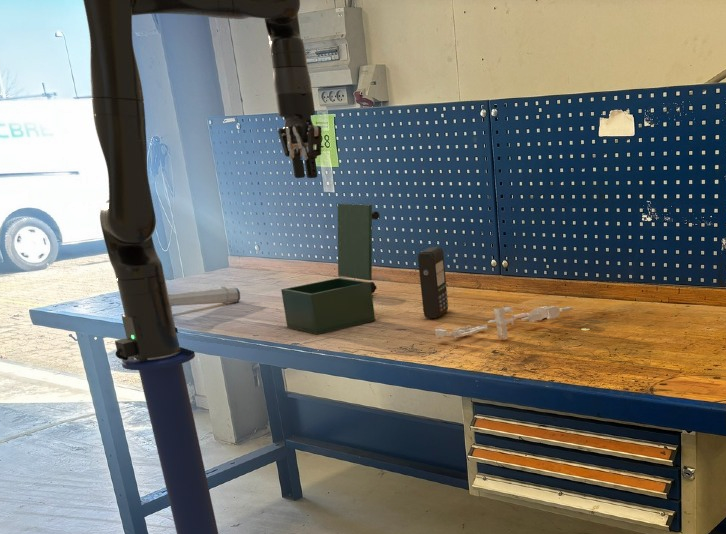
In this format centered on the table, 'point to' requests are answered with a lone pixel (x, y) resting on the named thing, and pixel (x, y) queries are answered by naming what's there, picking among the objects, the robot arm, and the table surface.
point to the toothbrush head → (205, 297)
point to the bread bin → (328, 305)
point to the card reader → (433, 282)
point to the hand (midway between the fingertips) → (306, 177)
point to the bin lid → (355, 240)
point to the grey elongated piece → (505, 321)
